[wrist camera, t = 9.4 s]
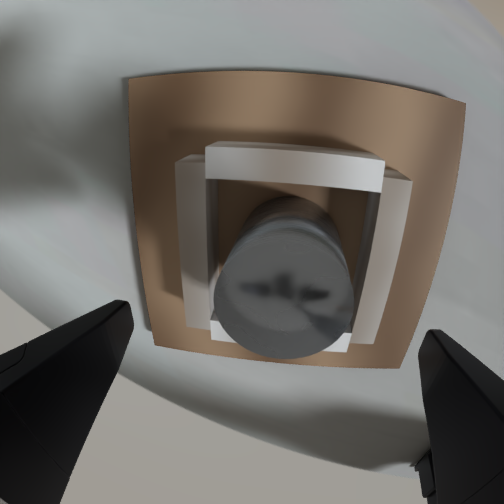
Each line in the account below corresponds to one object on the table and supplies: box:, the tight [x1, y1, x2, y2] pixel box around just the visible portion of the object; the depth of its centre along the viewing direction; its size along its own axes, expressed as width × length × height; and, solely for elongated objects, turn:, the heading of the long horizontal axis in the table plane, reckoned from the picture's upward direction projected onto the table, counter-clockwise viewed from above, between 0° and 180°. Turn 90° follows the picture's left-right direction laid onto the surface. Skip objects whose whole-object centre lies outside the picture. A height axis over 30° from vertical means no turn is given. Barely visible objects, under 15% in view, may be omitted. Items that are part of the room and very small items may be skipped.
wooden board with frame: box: [129, 71, 466, 368], centre depth 14 cm, size 15×15×3 cm
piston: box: [213, 196, 354, 359], centre depth 12 cm, size 4×4×5 cm
